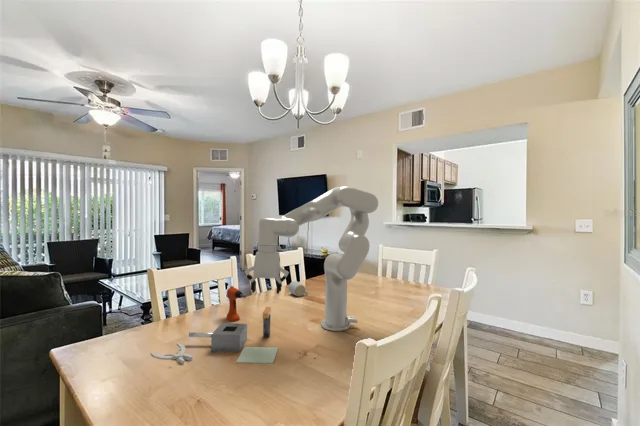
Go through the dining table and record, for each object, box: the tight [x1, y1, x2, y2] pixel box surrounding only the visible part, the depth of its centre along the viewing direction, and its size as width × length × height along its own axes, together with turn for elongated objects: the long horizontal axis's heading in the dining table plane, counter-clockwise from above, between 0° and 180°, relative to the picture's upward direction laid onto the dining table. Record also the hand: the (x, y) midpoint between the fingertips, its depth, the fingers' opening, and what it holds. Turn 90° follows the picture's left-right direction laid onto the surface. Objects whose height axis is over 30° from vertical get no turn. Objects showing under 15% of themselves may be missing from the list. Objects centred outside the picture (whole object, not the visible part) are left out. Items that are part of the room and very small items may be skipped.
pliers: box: [150, 342, 193, 365], centre depth 98 cm, size 10×2×15 cm
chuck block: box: [188, 322, 248, 353], centre depth 106 cm, size 20×10×6 cm, turn 90°
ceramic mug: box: [288, 280, 309, 297], centre depth 170 cm, size 11×8×8 cm
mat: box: [236, 346, 279, 365], centre depth 99 cm, size 12×10×1 cm
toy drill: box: [226, 285, 247, 322], centre depth 127 cm, size 5×19×15 cm, turn 38°
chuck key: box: [262, 306, 272, 339], centre depth 114 cm, size 3×7×10 cm, turn 0°
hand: (265, 292), depth 113 cm, fingers open, 9 cm apart
